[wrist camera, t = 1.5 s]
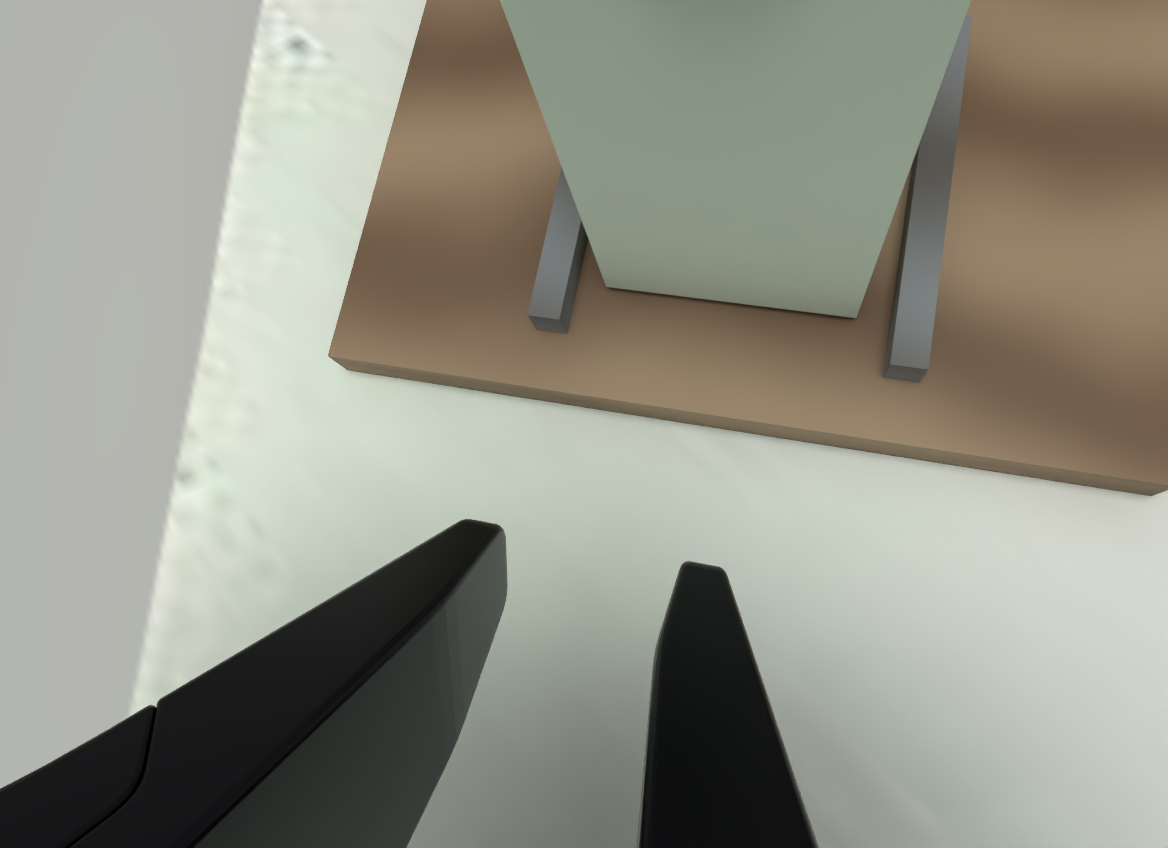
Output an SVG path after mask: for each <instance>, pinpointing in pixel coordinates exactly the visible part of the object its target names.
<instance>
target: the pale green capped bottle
mask: <svg viewBox="0 0 1168 848" xmlns="http://www.w3.org/2000/svg"><path fill="white" fill-rule="evenodd" d="M500 2H501V5H502V7H503V10H504V13H505V15H506V18H507V21H508V23H509V26H510V29H511V32H512V34H513V37H514V40H515V42H516V45H517V48H518V50H519V53H520V56H521V59H522V61H523V64H524V67H525V69H526V72H527V75H528V77H529V80H530V83H531V85H532V88H533V91H534V94H535V96H536V99H537V102H538V104H539V107H540V110H541V112H542V115H543V118H544V120H545V123H546V126H547V129H548V131H549V134H550V137H551V139H552V142H553V145H554V147H555V150H556V153H557V156H558V158H559V161H560V164H561V166H562V169H563V172H564V174H565V177H566V180H567V182H568V185H569V188H570V191H571V193H572V196H573V199H574V201H575V204H576V207H577V209H578V212H579V215H580V218H581V220H582V223H583V226H584V228H585V231H586V234H587V236H588V239H589V242H590V244H591V247H592V250H593V253H594V255H595V258H596V261H597V263H598V266H599V269H600V271H601V274H602V277H603V280H604V282H605V285H606V287H612V288H619V289H627V290H635V291H643V292H651V293H659V294H667V295H675V296H683V297H691V298H699V299H707V300H715V301H723V302H731V303H739V304H747V305H755V306H763V307H771V308H779V309H787V310H795V311H803V312H811V313H819V314H827V315H835V316H843V317H851V318H856V317H857V315H858V312H859V309H860V306H861V303H862V301H863V298H864V295H865V292H866V290H867V287H868V284H869V281H870V279H871V276H872V273H873V270H874V268H875V265H876V262H877V259H878V256H879V254H880V251H881V248H882V245H883V243H884V240H885V237H886V234H887V232H888V229H889V226H890V223H891V221H892V218H893V215H894V212H895V210H896V207H897V204H898V201H899V198H900V196H901V193H902V190H903V187H904V185H905V182H906V179H907V176H908V174H909V171H910V168H911V165H912V163H913V160H914V157H915V154H916V151H917V149H918V146H919V143H920V140H921V138H922V135H923V132H924V129H925V127H926V124H927V121H928V118H929V116H930V113H931V110H932V107H933V104H934V102H935V99H936V96H937V93H938V91H939V88H940V85H941V82H942V80H943V77H944V74H945V71H946V69H947V66H948V63H949V60H950V57H951V55H952V52H953V49H954V46H955V44H956V41H957V38H958V35H959V33H960V30H961V27H962V24H963V22H964V19H965V16H966V13H967V11H968V8H969V5H970V2H971V0H500Z"/></svg>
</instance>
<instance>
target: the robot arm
mask: <svg viewBox="0 0 1168 848" xmlns="http://www.w3.org/2000/svg"><path fill="white" fill-rule="evenodd" d="M506 596H507V560H506V537H505V533H504V530H503V529H502V528H501V527H500V526H499V525H497V524H493V523H487V522H482V521H477V520H472V519H465V520H462V521H459V522H457V523H456V524H454V525H452V526H451V527H449V528H447V529H446V530H444V531H442V532H441V533H439V534H437V535H436V536H434V537H432V538H430V539H429V540H427V541H425V542H424V543H422V544H420V545H419V546H417V547H415V548H414V549H412V550H410V551H409V552H407V553H405V554H404V555H402V556H400V557H398V558H397V559H395V560H393V561H392V562H390V563H388V564H387V565H385V566H383V567H382V568H380V569H378V570H377V571H375V572H373V573H372V574H370V575H368V576H366V577H365V578H363V579H361V580H360V581H358V582H356V583H355V584H353V585H351V586H350V587H348V588H346V589H345V590H343V591H341V592H340V593H338V594H336V595H334V596H333V597H331V598H329V599H328V600H326V601H324V602H323V603H321V604H319V605H318V606H316V607H314V608H313V609H311V610H309V611H308V612H306V613H304V614H302V615H301V616H299V617H297V618H296V619H294V620H292V621H291V622H289V623H287V624H286V625H284V626H282V627H281V628H279V629H277V630H276V631H274V632H272V633H270V634H269V635H267V636H265V637H264V638H262V639H260V640H259V641H257V642H255V643H254V644H252V645H250V646H249V647H247V648H245V649H244V650H242V651H240V652H238V653H237V654H235V655H233V656H232V657H230V658H228V659H227V660H225V661H223V662H222V663H220V664H218V665H217V666H215V667H213V668H212V669H210V670H208V671H206V672H205V673H203V674H201V675H200V676H198V677H196V678H195V679H193V680H191V681H190V682H188V683H186V684H185V685H183V686H181V687H180V688H178V689H176V690H174V691H173V692H171V693H169V694H168V695H166V696H164V697H163V698H161V699H160V700H159V701H158V703H157V707H155V706H153V705H149V706H147V707H145V708H144V709H142V710H140V711H139V712H137V713H135V714H133V715H132V716H130V717H128V718H127V719H125V720H123V721H122V722H120V723H118V724H117V725H115V726H113V727H112V728H110V729H108V730H106V731H105V732H103V733H101V734H99V735H98V736H96V737H94V738H92V739H91V740H89V741H87V742H85V743H84V744H82V745H80V746H78V747H77V748H75V749H73V750H71V751H70V752H68V753H66V754H64V755H63V756H61V757H59V758H57V759H55V760H54V761H52V762H50V763H48V764H47V765H45V766H43V767H41V768H39V769H37V770H36V771H33V772H31V773H30V774H28V775H26V776H24V777H22V778H20V779H18V780H16V781H14V782H13V783H11V784H9V785H7V786H5V787H3V788H1V789H0V848H406V847H407V845H408V843H409V841H410V839H411V837H412V835H413V833H414V831H415V828H416V826H417V824H418V822H419V820H420V818H421V816H422V814H423V812H424V810H425V808H426V806H427V804H428V802H429V800H430V798H431V795H432V793H433V791H434V789H435V787H436V785H437V783H438V781H439V779H440V777H441V775H442V773H443V771H444V769H445V767H446V765H447V762H448V760H449V758H450V756H451V753H452V751H453V749H454V747H455V745H456V742H457V740H458V737H459V734H460V732H461V729H462V726H463V724H464V721H465V718H466V715H467V713H468V710H469V707H470V704H471V701H472V698H473V695H474V693H475V690H476V687H477V684H478V681H479V678H480V675H481V673H482V670H483V667H484V664H485V661H486V658H487V655H488V653H489V650H490V647H491V644H492V641H493V638H494V635H495V633H496V630H497V627H498V624H499V621H500V618H501V615H502V613H503V609H504V606H505V602H506ZM637 848H819V847H818V844H817V841H816V838H815V835H814V832H813V829H812V826H811V823H810V820H809V817H808V815H807V812H806V809H805V806H804V803H803V800H802V797H801V794H800V791H799V788H798V785H797V782H796V779H795V776H794V773H793V770H792V767H791V764H790V761H789V758H788V755H787V752H786V749H785V746H784V743H783V740H782V737H781V734H780V731H779V728H778V725H777V722H776V719H775V716H774V713H773V710H772V707H771V704H770V701H769V698H768V695H767V692H766V689H765V686H764V684H763V681H762V678H761V675H760V672H759V669H758V666H757V663H756V660H755V657H754V654H753V651H752V648H751V645H750V642H749V639H748V636H747V633H746V630H745V627H744V624H743V621H742V618H741V615H740V612H739V609H738V606H737V603H736V600H735V597H734V594H733V591H732V588H731V585H730V582H729V579H728V576H727V574H726V572H725V571H724V570H723V569H722V568H720V567H717V566H711V565H706V564H701V563H696V562H690V561H687V562H684V563H683V564H682V565H681V567H680V570H679V573H678V576H677V579H676V582H675V586H674V589H673V592H672V595H671V598H670V602H669V605H668V608H667V611H666V614H665V618H664V621H663V624H662V627H661V630H660V634H659V637H658V641H657V645H656V649H655V655H654V662H653V671H652V682H651V693H650V704H649V715H648V726H647V737H646V748H645V759H644V770H643V781H642V792H641V803H640V814H639V826H638V838H637Z"/></svg>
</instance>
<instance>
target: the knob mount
mask: <svg viewBox="0 0 1168 848" xmlns="http://www.w3.org/2000/svg"><path fill="white" fill-rule="evenodd" d="M328 356H329V357H330V358H331V359H333V360H334V361H336V362H337V363H339V364H340V365H341V366H343V367H344V368H346V369H347V370H352V371H358V372H364V373H371V374H377V375H384V376H390V377H396V378H403V379H409V380H415V381H422V382H428V383H435V384H441V385H447V386H454V387H460V388H466V389H473V390H479V391H486V392H492V393H498V394H505V395H511V396H517V397H524V398H530V399H537V400H543V401H549V402H556V403H562V404H568V405H575V406H581V407H588V408H594V409H600V410H607V411H613V412H620V413H626V414H632V415H639V416H645V417H651V418H658V419H664V420H671V421H677V422H683V423H690V424H696V425H702V426H709V427H715V428H722V429H728V430H734V431H741V432H747V433H753V434H760V435H766V436H773V437H779V438H785V439H792V440H798V441H804V442H811V443H817V444H824V445H830V446H836V447H843V448H849V449H855V450H862V451H868V452H875V453H881V454H887V455H894V456H900V457H906V458H913V459H919V460H926V461H932V462H938V463H945V464H951V465H957V466H964V467H970V468H977V469H983V470H989V471H996V472H1002V473H1009V474H1015V475H1021V476H1028V477H1034V478H1040V479H1047V480H1053V481H1060V482H1066V483H1072V484H1079V485H1085V486H1091V487H1098V488H1104V489H1111V490H1117V491H1123V492H1130V493H1136V494H1142V495H1149V496H1152V495H1155V494H1158V493H1161V492H1164V491H1166V490H1168V0H971V2H970V5H969V8H968V11H967V13H966V16H965V19H964V22H963V24H962V27H961V30H960V33H959V35H958V38H957V41H956V44H955V46H954V49H953V52H952V55H951V57H950V60H949V63H948V66H947V69H946V71H945V74H944V77H943V80H942V82H941V85H940V88H939V91H938V93H937V96H936V99H935V102H934V104H933V107H932V110H931V113H930V116H929V118H928V121H927V124H926V127H925V129H924V132H923V135H922V138H921V140H920V143H919V146H918V149H917V151H916V154H915V157H914V160H913V163H912V165H911V168H910V171H909V174H908V176H907V179H906V182H905V185H904V187H903V190H902V193H901V196H900V198H899V201H898V204H897V207H896V210H895V212H894V215H893V218H892V221H891V223H890V226H889V229H888V232H887V234H886V237H885V240H884V243H883V245H882V248H881V251H880V254H879V256H878V259H877V262H876V265H875V268H874V270H873V273H872V276H871V279H870V281H869V284H868V287H867V290H866V292H865V295H864V298H863V301H862V303H861V306H860V309H859V312H858V315H857V317H856V318H851V317H843V316H835V315H827V314H819V313H811V312H803V311H795V310H787V309H779V308H771V307H763V306H755V305H747V304H739V303H731V302H723V301H715V300H707V299H699V298H691V297H683V296H675V295H667V294H659V293H651V292H643V291H635V290H627V289H619V288H612V287H606V285H605V282H604V280H603V277H602V274H601V271H600V269H599V266H598V263H597V261H596V258H595V255H594V253H593V250H592V247H591V244H590V242H589V239H588V236H587V234H586V231H585V228H584V226H583V223H582V220H581V218H580V215H579V212H578V209H577V207H576V204H575V201H574V199H573V196H572V193H571V191H570V188H569V185H568V182H567V180H566V177H565V174H564V172H563V169H562V166H561V164H560V161H559V158H558V156H557V153H556V150H555V147H554V145H553V142H552V139H551V137H550V134H549V131H548V129H547V126H546V123H545V120H544V118H543V115H542V112H541V110H540V107H539V104H538V102H537V99H536V96H535V94H534V91H533V88H532V85H531V83H530V80H529V77H528V75H527V72H526V69H525V67H524V64H523V61H522V59H521V56H520V53H519V50H518V48H517V45H516V42H515V40H514V37H513V34H512V32H511V29H510V26H509V23H508V21H507V18H506V15H505V13H504V10H503V7H502V5H501V2H500V0H427V2H426V5H425V9H424V13H423V16H422V20H421V23H420V27H419V31H418V34H417V38H416V41H415V45H414V48H413V52H412V56H411V59H410V63H409V66H408V70H407V74H406V77H405V81H404V84H403V88H402V92H401V95H400V99H399V102H398V106H397V110H396V113H395V117H394V120H393V124H392V127H391V131H390V135H389V138H388V142H387V145H386V149H385V153H384V156H383V160H382V163H381V167H380V171H379V174H378V178H377V181H376V185H375V189H374V192H373V196H372V199H371V203H370V206H369V210H368V214H367V217H366V221H365V224H364V228H363V232H362V235H361V239H360V242H359V246H358V250H357V253H356V257H355V260H354V264H353V268H352V271H351V275H350V278H349V282H348V285H347V289H346V293H345V296H344V300H343V303H342V307H341V311H340V314H339V318H338V321H337V325H336V329H335V332H334V336H333V339H332V343H331V347H330V350H329V354H328Z"/></svg>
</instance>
